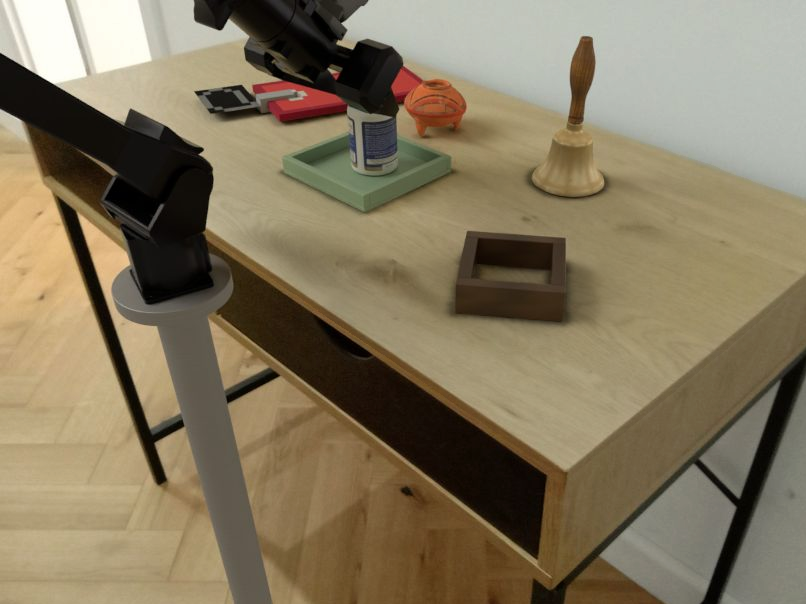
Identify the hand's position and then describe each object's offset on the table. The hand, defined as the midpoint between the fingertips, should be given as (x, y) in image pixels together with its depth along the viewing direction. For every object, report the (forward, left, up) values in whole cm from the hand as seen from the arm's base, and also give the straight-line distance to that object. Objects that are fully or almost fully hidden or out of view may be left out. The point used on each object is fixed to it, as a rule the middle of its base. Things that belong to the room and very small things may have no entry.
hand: (366, 101), depth 85 cm
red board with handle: (+4, +25, -9) cm, 27 cm away
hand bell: (+19, -13, -9) cm, 24 cm away
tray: (0, 0, -8) cm, 8 cm away
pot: (+13, +7, -9) cm, 17 cm away
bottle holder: (+1, -28, -8) cm, 29 cm away
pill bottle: (+1, 0, -8) cm, 8 cm away
